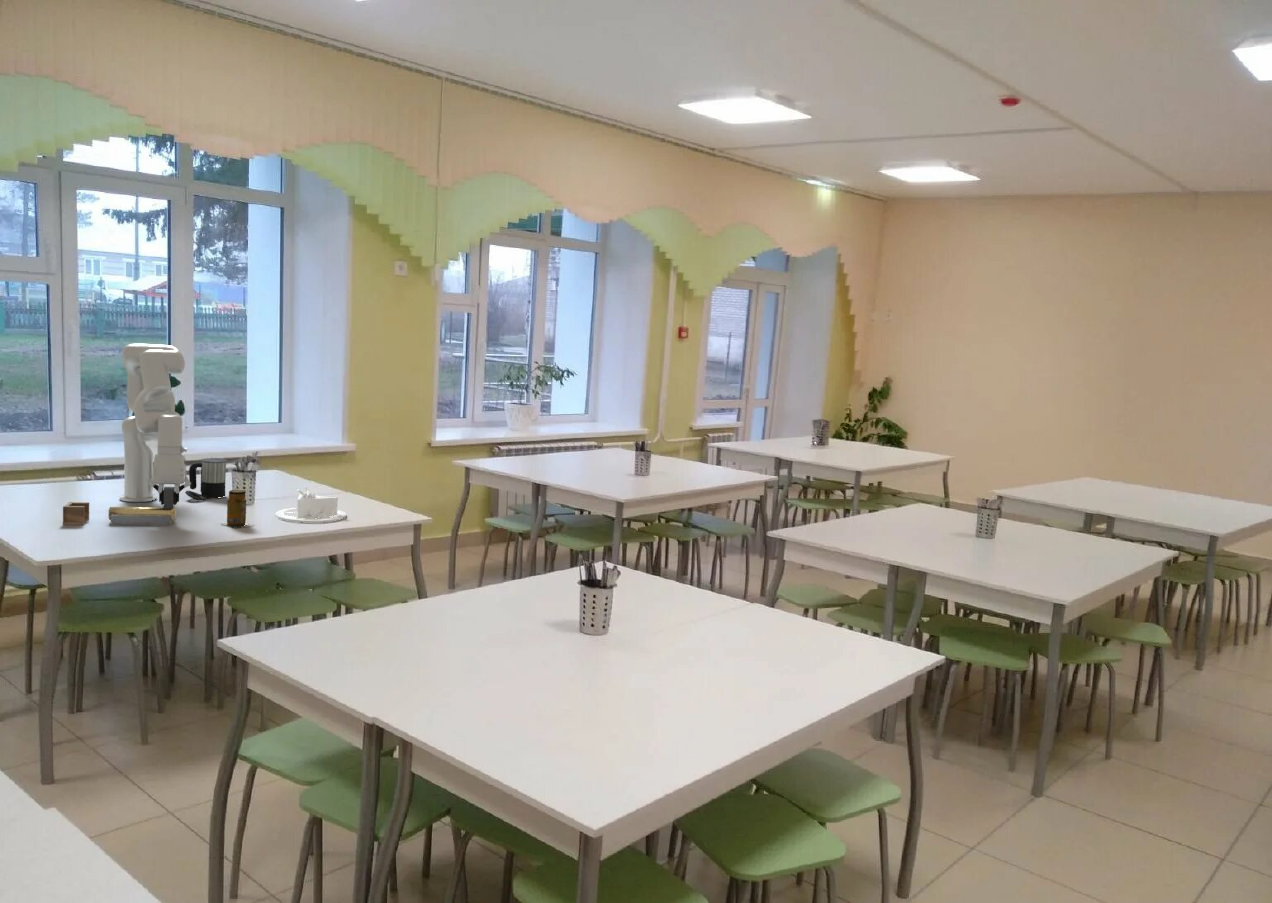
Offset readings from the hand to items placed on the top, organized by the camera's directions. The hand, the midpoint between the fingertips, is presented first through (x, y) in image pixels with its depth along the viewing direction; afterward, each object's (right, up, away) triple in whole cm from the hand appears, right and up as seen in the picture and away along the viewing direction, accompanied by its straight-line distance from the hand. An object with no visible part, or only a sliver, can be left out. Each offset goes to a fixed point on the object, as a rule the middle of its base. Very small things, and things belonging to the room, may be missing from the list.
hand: (169, 503), depth 327 cm
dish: (+39, -7, +28) cm, 48 cm away
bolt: (-8, -6, -2) cm, 10 cm away
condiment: (+21, -8, +5) cm, 23 cm away
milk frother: (-8, -1, +45) cm, 46 cm away
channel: (-8, -6, -2) cm, 10 cm away
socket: (-27, -6, -8) cm, 29 cm away
